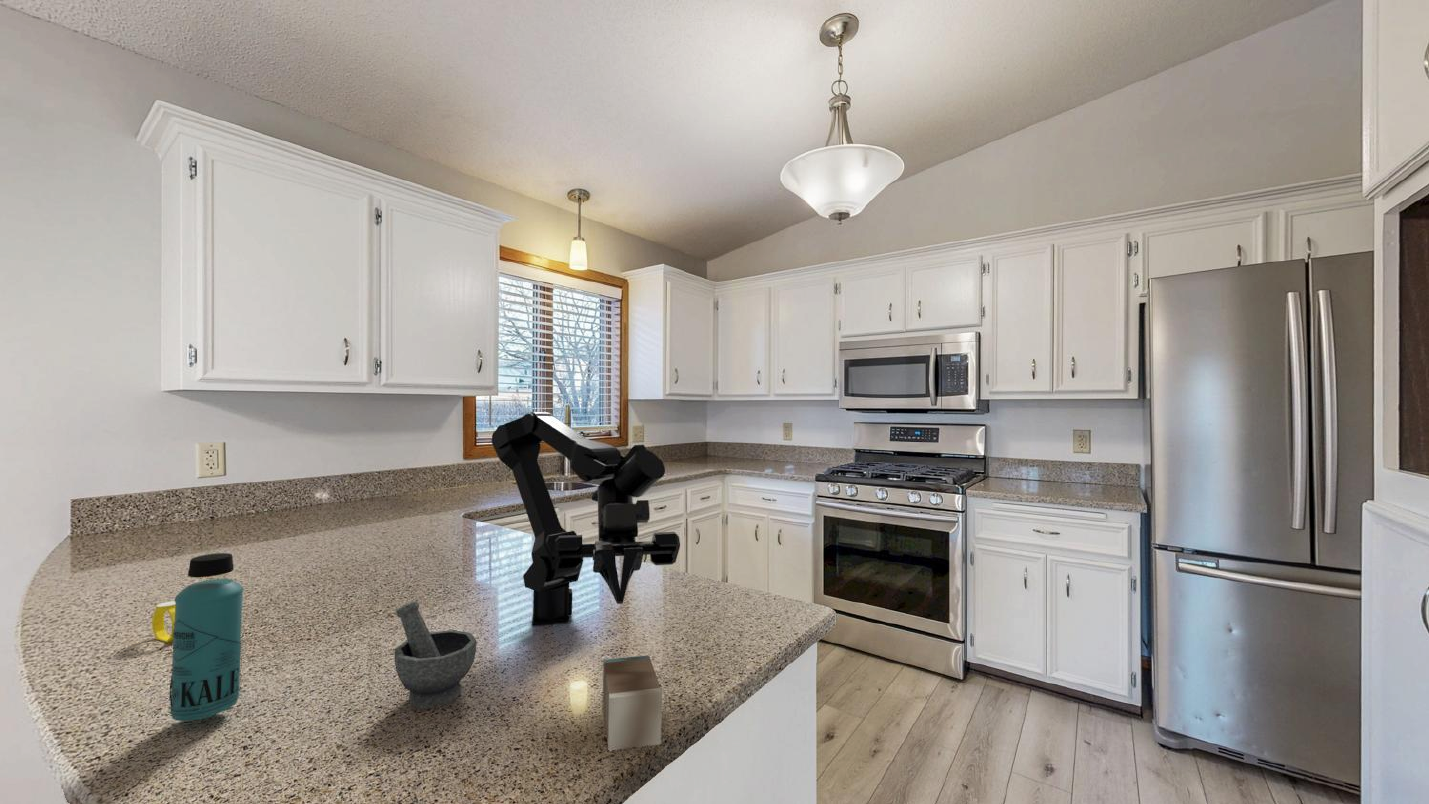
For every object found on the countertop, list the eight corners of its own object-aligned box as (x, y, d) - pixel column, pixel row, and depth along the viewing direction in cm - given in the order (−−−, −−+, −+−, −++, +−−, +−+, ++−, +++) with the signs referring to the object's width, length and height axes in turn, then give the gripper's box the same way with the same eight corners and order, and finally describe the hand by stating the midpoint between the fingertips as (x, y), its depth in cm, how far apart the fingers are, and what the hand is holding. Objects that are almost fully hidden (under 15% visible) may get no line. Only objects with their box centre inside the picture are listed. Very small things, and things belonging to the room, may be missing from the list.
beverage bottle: (198, 706, 71) (204, 548, 71) (254, 704, 71) (259, 548, 71) (151, 736, 64) (157, 562, 64) (212, 734, 65) (218, 562, 65)
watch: (146, 642, 90) (146, 604, 90) (168, 635, 92) (167, 599, 93) (167, 645, 88) (167, 607, 88) (189, 639, 90) (189, 601, 91)
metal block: (602, 705, 72) (608, 751, 63) (603, 659, 72) (609, 698, 63) (648, 700, 74) (660, 744, 64) (649, 655, 74) (662, 692, 64)
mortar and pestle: (489, 685, 77) (492, 599, 77) (438, 721, 68) (440, 623, 68) (424, 673, 80) (426, 590, 81) (367, 706, 71) (369, 612, 72)
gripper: (556, 482, 83) (553, 578, 72) (679, 481, 88) (693, 571, 77) (556, 524, 90) (552, 617, 80) (669, 520, 95) (680, 608, 84)
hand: (620, 602), depth 80 cm, fingers closed
